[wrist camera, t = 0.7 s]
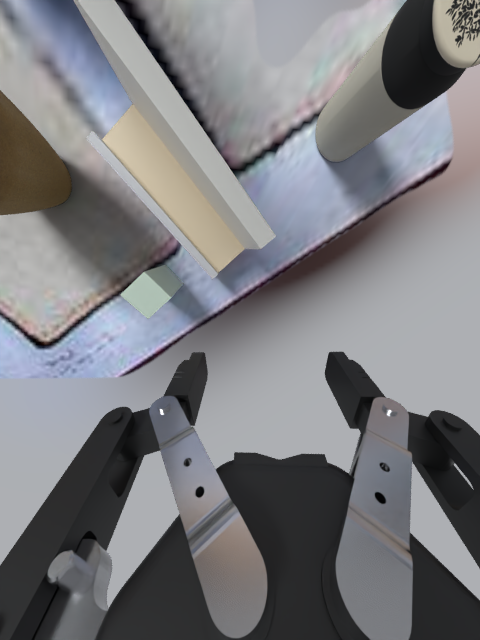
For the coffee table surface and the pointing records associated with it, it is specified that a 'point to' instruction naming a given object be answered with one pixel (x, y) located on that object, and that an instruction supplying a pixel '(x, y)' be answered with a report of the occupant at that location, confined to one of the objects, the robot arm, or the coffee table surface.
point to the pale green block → (152, 290)
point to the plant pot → (28, 166)
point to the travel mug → (401, 73)
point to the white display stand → (171, 152)
